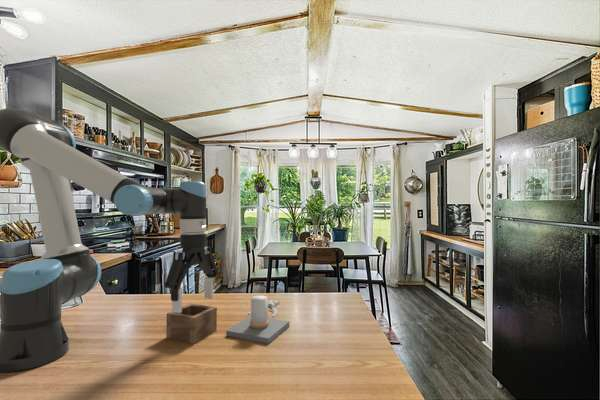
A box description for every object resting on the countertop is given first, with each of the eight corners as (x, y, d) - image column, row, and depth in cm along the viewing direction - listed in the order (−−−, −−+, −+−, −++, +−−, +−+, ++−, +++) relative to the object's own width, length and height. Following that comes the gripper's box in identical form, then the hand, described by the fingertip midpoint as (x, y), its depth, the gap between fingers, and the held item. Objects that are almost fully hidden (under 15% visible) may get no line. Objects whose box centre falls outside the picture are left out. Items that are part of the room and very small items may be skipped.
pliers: (247, 310, 111) (263, 298, 126) (247, 315, 111) (263, 302, 126) (273, 313, 108) (287, 300, 123) (273, 318, 108) (287, 305, 123)
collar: (193, 343, 87) (194, 318, 87) (166, 337, 91) (166, 313, 91) (216, 330, 97) (216, 307, 97) (190, 325, 100) (190, 303, 100)
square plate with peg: (268, 343, 87) (268, 307, 88) (226, 335, 93) (226, 301, 93) (289, 326, 100) (289, 294, 101) (251, 319, 106) (251, 289, 106)
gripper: (171, 237, 81) (172, 320, 81) (228, 230, 104) (229, 294, 104) (149, 236, 84) (150, 317, 84) (210, 229, 107) (210, 292, 107)
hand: (194, 304), depth 94 cm, fingers open, 13 cm apart
